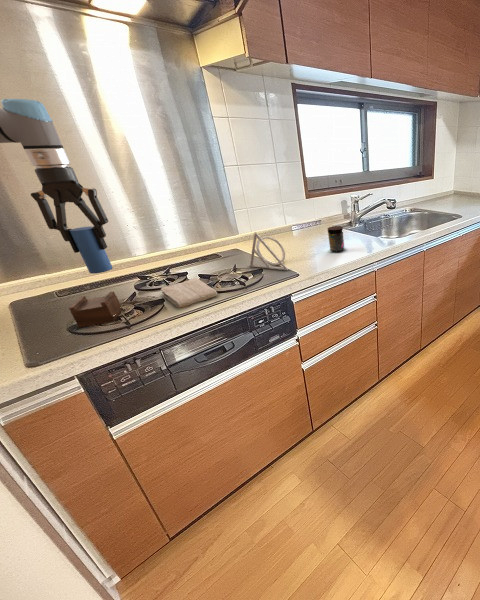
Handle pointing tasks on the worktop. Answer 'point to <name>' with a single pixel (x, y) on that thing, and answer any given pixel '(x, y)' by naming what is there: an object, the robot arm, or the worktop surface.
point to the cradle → (95, 310)
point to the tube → (91, 250)
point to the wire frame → (269, 251)
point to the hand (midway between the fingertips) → (91, 249)
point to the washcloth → (188, 292)
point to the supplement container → (336, 239)
